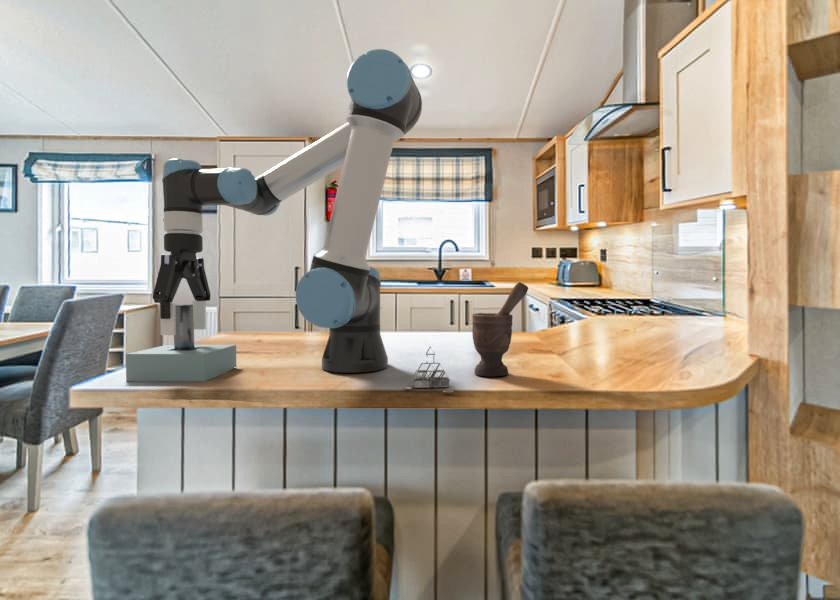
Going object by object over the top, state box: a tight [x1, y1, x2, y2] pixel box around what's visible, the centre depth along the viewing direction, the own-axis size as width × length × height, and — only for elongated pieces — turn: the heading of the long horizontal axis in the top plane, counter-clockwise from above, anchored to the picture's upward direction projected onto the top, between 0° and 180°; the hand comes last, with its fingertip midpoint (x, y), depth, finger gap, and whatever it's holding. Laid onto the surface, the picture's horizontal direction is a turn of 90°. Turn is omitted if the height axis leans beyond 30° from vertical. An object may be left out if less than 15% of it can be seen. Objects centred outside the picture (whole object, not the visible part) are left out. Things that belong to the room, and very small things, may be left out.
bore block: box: [125, 344, 237, 382], centre depth 107 cm, size 16×16×6 cm
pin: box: [173, 304, 196, 351], centre depth 107 cm, size 4×4×14 cm
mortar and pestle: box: [471, 281, 529, 378], centre depth 105 cm, size 12×9×20 cm
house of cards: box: [404, 346, 454, 393], centre depth 93 cm, size 9×9×8 cm
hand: (184, 332), depth 106 cm, fingers open, 13 cm apart
